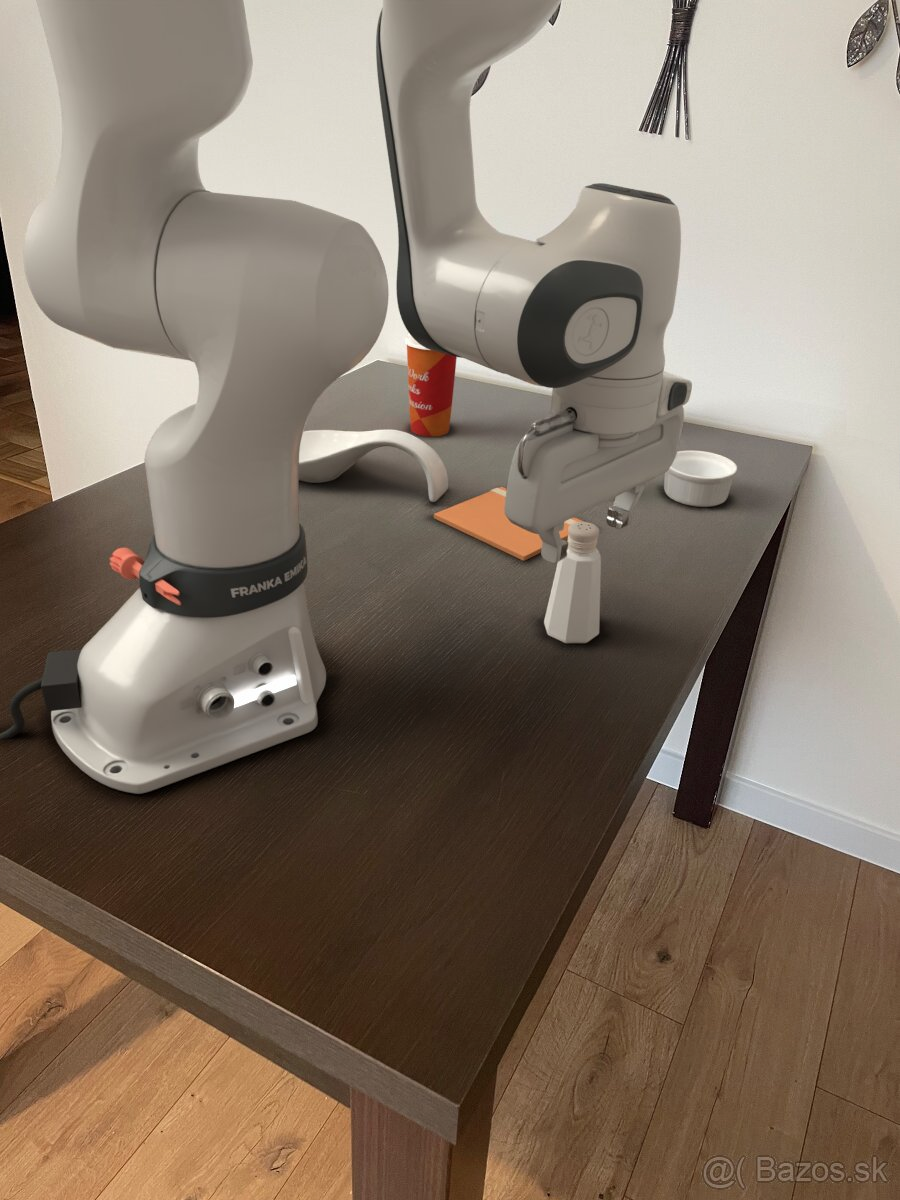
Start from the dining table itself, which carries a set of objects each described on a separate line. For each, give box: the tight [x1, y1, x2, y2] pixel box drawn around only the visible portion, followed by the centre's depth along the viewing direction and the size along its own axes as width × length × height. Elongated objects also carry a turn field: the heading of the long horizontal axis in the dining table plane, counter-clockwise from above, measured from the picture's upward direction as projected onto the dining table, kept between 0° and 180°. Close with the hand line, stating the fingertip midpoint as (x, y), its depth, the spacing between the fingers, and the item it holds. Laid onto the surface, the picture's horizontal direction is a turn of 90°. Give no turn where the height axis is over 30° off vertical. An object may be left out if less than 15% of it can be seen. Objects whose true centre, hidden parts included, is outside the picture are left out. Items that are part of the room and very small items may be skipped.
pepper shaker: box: [543, 521, 602, 644], centre depth 86 cm, size 5×5×11 cm
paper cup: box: [404, 331, 458, 437], centre depth 130 cm, size 8×8×14 cm
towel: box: [433, 486, 585, 562], centre depth 108 cm, size 12×14×1 cm
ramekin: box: [663, 450, 738, 508], centre depth 116 cm, size 9×9×4 cm
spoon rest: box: [299, 429, 449, 503], centre depth 115 cm, size 24×12×7 cm, turn 70°
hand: (586, 541), depth 84 cm, fingers open, 8 cm apart
